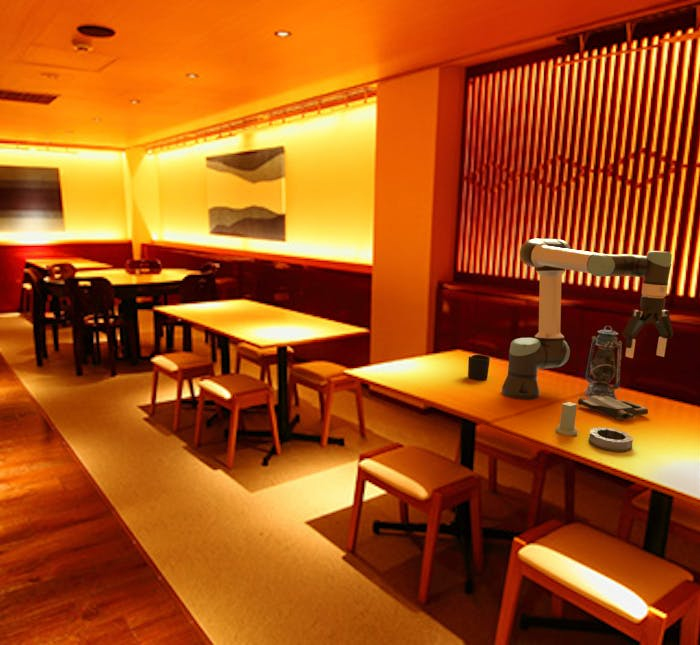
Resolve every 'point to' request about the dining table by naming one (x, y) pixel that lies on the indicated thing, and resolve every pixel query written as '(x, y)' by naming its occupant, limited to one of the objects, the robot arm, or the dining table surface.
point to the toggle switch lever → (567, 420)
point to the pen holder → (478, 367)
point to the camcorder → (613, 407)
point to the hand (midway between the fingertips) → (644, 356)
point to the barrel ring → (610, 440)
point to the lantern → (604, 364)
